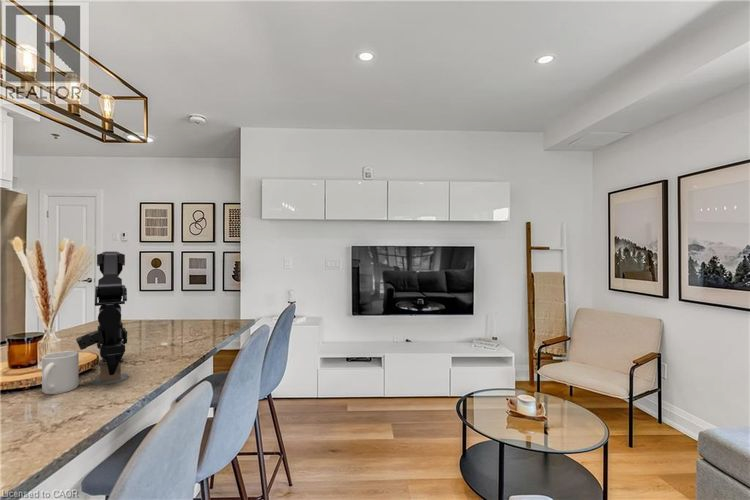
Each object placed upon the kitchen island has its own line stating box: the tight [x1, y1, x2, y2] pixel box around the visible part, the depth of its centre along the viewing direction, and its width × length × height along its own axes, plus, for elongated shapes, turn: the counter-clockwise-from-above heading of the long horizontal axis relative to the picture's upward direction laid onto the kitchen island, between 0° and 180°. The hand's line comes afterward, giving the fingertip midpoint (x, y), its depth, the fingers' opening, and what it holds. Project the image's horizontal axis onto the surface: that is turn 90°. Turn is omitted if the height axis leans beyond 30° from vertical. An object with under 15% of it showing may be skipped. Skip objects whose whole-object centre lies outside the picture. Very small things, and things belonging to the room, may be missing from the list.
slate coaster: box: [90, 373, 130, 386], centre depth 121 cm, size 10×10×1 cm
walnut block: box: [99, 362, 122, 383], centre depth 121 cm, size 5×5×5 cm
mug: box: [41, 350, 80, 395], centre depth 111 cm, size 12×8×10 cm
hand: (110, 371), depth 121 cm, fingers open, 9 cm apart
